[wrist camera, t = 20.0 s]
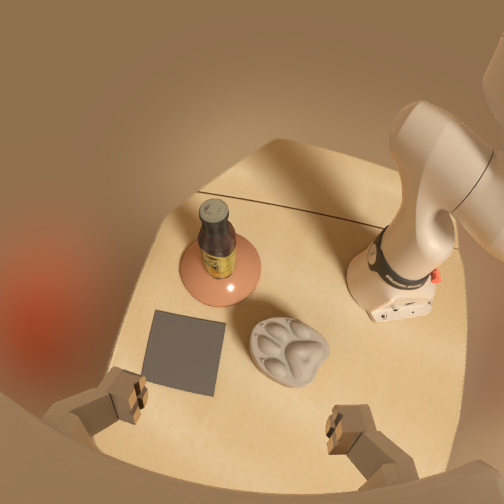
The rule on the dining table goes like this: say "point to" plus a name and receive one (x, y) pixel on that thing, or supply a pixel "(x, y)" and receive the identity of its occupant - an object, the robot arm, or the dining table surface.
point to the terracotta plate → (222, 289)
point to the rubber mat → (184, 353)
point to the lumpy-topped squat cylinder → (287, 351)
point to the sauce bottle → (217, 239)
